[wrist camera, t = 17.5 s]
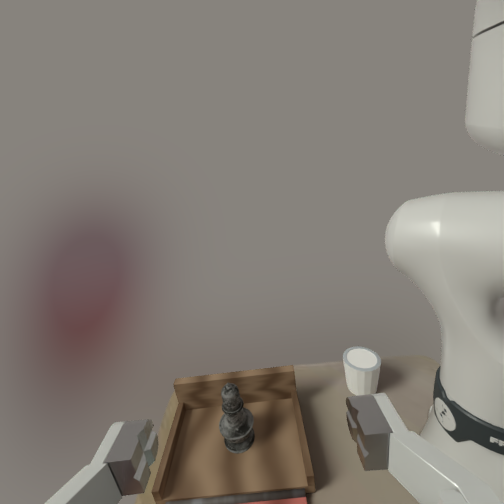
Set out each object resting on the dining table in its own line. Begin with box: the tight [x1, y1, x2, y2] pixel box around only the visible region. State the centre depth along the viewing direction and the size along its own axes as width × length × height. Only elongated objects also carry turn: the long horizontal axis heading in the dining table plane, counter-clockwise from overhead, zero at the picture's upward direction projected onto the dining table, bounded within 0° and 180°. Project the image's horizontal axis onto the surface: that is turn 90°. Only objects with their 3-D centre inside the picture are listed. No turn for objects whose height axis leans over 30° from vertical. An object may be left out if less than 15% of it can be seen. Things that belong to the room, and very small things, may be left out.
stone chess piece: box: [219, 382, 255, 454], centre depth 42 cm, size 6×6×12 cm
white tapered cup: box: [343, 347, 381, 396], centre depth 51 cm, size 7×7×7 cm
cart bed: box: [152, 365, 315, 504], centre depth 41 cm, size 23×21×8 cm
